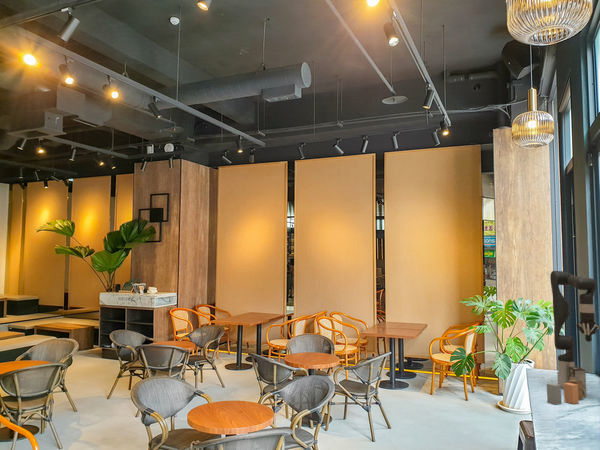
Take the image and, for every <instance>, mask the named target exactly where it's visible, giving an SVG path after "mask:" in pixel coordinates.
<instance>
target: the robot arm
mask: <svg viewBox="0 0 600 450" xmlns="http://www.w3.org/2000/svg"><path fill="white" fill-rule="evenodd" d="M550 285H551V287H550V288H551V293H552V313H553V323H554V330H553V331H554V336H553V338H554V339H553V340H554V348H555V349H556V350H559V351H561V350H562V351H566V353H563V354H559V355H558V356H557V368H558V371H557V384H558V385H561V390H564V383H568V380H570V379H569V367H576V365H575V340H574V336H572V335H565V334H564V335H562V334H561V330H562V328H563V326H564V324H565V323H566V322H567V321H568V318H569V317H570V305H569V304H570V303H568V301H567V299H566V298H565V297H564V295H563V294H562V292H561V290H560V286H568V285H569V286H570V287H573V288H576V289H577V290H580V291H586V292H585V293H581V294H580V295H579V296H578V297H579V319H580V321H579V323H577V324H576V328H577V329H578V330H579V331H580V333H581V334H583V335H584V337H585V339H584V340H585V341H586V342H589V343H591V342H592V340H593V338H592V337H593V335H596V333H597V332H598V330H599V329H600V326H598V325H597V324H596V321H595V320H596V317H595V315H596V313H595V306H594V295H595V291H596V287H597V283H596V281H595V279H593V278H592V277H591V278H590V277H588V278H587V277H581V276H578V275H577V276H576V275H573V274H572V273H570V272H567V271H562V270H552V271H551V273H550Z"/></svg>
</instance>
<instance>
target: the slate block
mask: <svg viewBox="0 0 600 450" xmlns="http://www.w3.org/2000/svg"><path fill="white" fill-rule="evenodd" d="M546 398H547V403H549V404H552V405H559V404H562V389H561V385H558V383H554V382H552V383H551V382H550V383H546Z"/></svg>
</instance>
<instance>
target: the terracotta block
mask: <svg viewBox="0 0 600 450" xmlns="http://www.w3.org/2000/svg"><path fill="white" fill-rule="evenodd" d="M563 393H564V394H563V395H564V398H563V399H564V402H565V403H569V404H571V405H576V404H579V401H580V400H579V399H578V385H577V384H573V383H564V389H563Z"/></svg>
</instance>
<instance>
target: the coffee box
mask: <svg viewBox="0 0 600 450" xmlns="http://www.w3.org/2000/svg"><path fill="white" fill-rule="evenodd" d="M586 377H587V375H586V369H584V368H582V367H581V366H575V367H569V379H570V380H577V381H582V391H583V399H584V398H585V399H587V396H588V395H587V378H586Z"/></svg>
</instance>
